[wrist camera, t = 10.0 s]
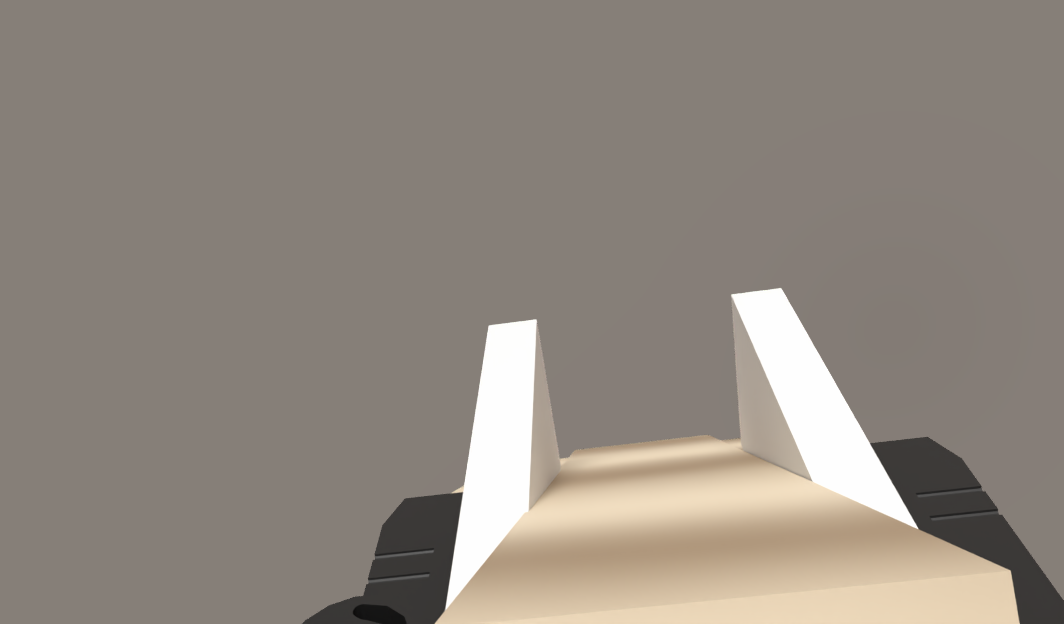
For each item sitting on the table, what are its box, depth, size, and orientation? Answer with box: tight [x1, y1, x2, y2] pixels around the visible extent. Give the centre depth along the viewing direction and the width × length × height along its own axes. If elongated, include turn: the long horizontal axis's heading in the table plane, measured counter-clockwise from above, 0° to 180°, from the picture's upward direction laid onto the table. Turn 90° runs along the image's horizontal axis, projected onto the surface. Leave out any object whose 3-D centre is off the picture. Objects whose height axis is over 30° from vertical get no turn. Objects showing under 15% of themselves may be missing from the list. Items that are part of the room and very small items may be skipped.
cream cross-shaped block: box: [435, 435, 1020, 624], centre depth 19 cm, size 30×10×3 cm, turn 175°
